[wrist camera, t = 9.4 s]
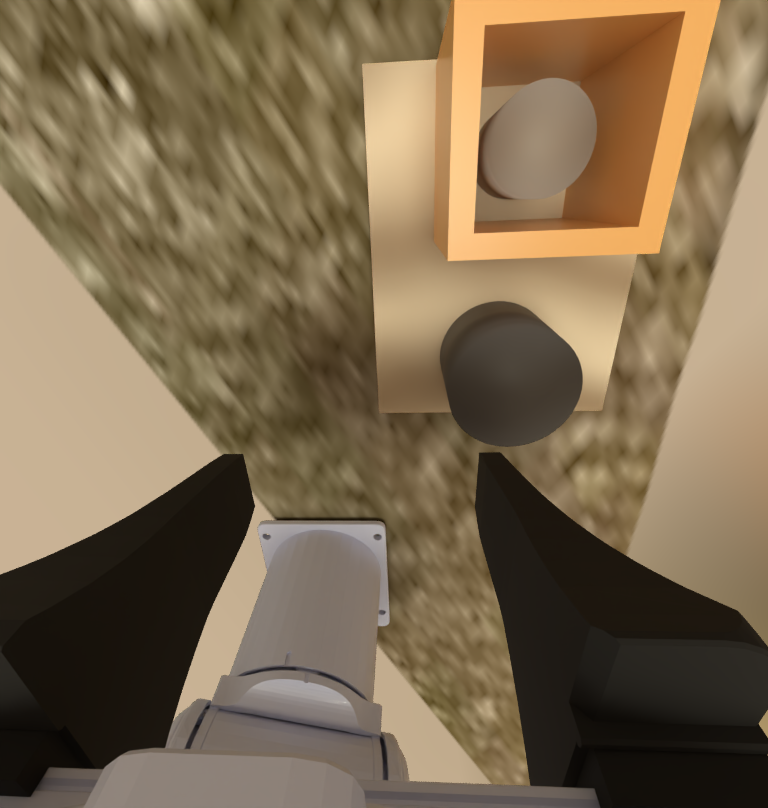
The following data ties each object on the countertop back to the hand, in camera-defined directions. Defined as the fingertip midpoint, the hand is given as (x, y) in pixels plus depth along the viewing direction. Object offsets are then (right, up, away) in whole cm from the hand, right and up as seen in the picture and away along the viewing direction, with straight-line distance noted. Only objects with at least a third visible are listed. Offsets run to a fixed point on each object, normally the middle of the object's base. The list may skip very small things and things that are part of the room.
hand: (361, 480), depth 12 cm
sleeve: (+6, +12, +3) cm, 13 cm away
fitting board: (+6, +9, +6) cm, 12 cm away
